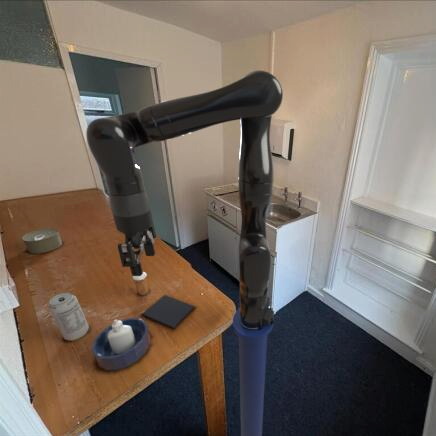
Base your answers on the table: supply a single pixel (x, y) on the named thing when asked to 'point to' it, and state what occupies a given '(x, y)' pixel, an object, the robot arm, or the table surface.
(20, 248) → the table surface
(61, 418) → the table surface
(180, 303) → the mat
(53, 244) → the can
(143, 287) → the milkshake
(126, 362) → the bowl
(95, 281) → the table surface
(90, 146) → the robot arm
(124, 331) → the eye dropper bottle
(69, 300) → the energy drink can
